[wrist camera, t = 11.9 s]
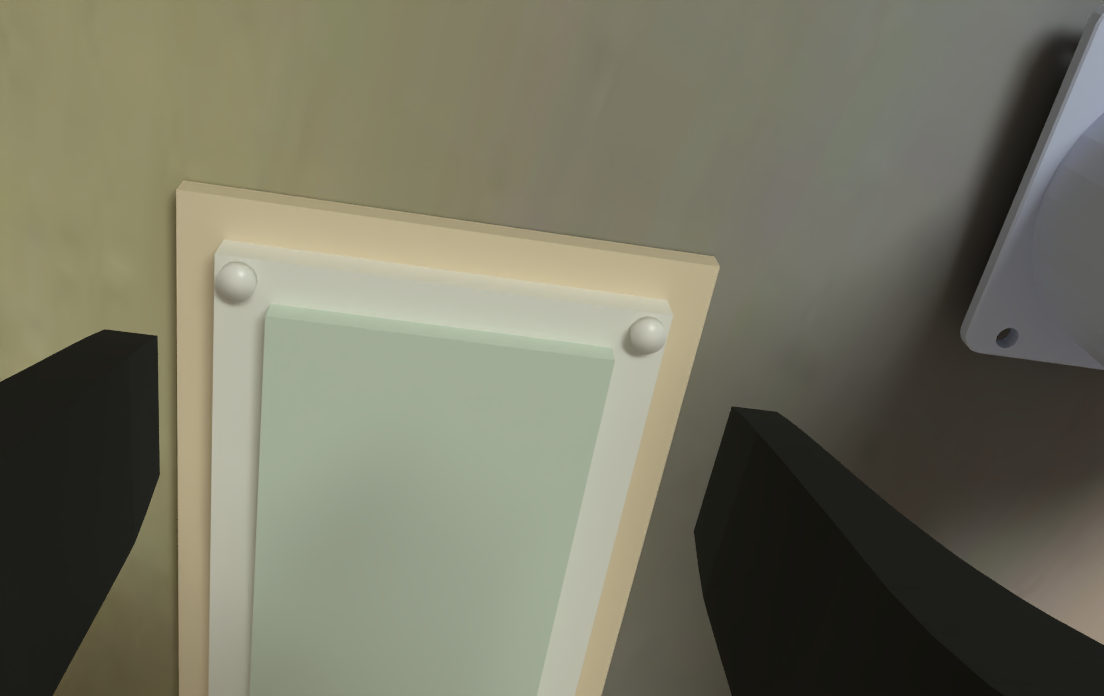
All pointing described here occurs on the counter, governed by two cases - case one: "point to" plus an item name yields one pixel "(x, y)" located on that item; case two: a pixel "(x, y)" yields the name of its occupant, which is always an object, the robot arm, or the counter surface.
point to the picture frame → (415, 445)
